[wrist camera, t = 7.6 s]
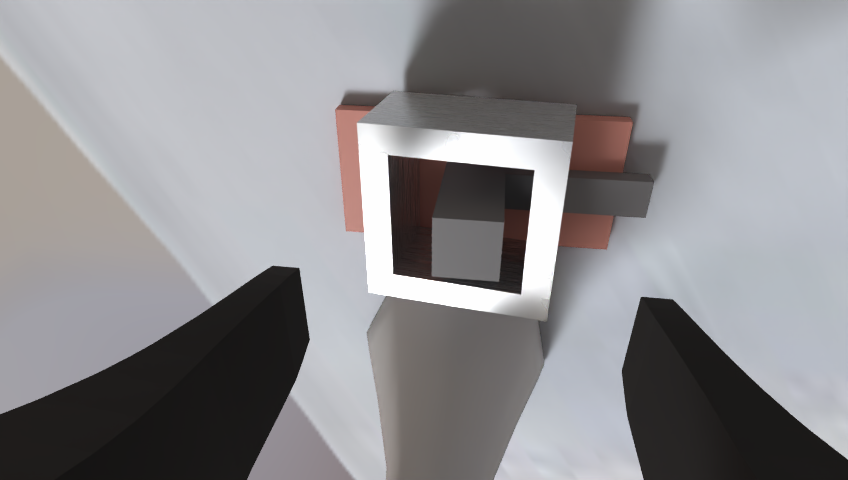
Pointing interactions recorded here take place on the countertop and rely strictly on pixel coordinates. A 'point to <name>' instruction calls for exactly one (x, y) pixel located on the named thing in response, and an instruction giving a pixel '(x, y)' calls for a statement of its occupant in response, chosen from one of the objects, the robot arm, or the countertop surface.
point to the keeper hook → (507, 196)
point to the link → (467, 143)
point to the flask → (450, 386)
